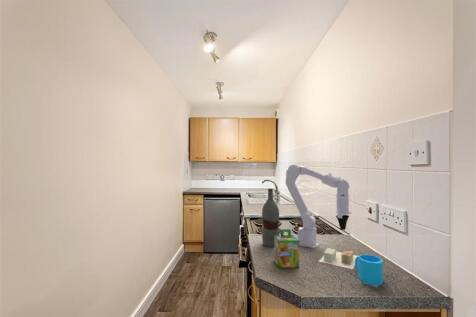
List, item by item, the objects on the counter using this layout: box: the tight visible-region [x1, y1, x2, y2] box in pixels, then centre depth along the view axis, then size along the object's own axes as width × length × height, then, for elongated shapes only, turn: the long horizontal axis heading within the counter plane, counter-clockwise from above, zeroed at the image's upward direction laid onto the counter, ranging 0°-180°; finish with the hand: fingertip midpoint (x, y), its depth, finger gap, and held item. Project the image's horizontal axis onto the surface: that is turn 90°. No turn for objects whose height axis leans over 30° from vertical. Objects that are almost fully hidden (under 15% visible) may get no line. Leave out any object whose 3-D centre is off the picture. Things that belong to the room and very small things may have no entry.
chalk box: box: [273, 228, 300, 269], centre depth 108 cm, size 9×9×15 cm
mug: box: [355, 254, 384, 287], centre depth 95 cm, size 12×8×8 cm
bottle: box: [261, 188, 280, 248], centre depth 133 cm, size 9×9×30 cm
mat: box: [318, 251, 359, 270], centre depth 112 cm, size 14×17×1 cm
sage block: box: [323, 247, 337, 262], centre depth 112 cm, size 4×4×7 cm
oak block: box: [341, 249, 354, 265], centre depth 109 cm, size 4×4×7 cm
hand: (342, 229), depth 126 cm, fingers closed
